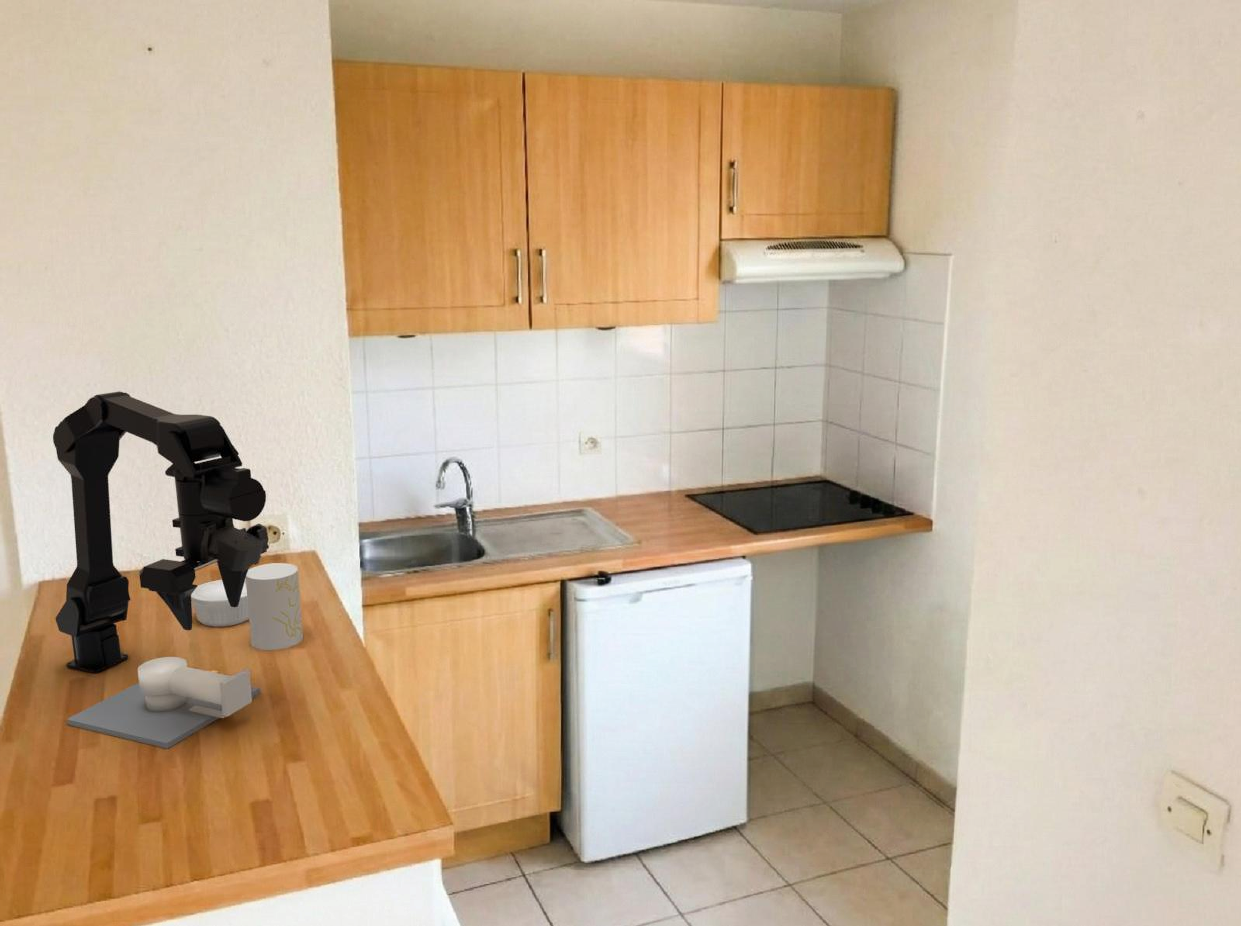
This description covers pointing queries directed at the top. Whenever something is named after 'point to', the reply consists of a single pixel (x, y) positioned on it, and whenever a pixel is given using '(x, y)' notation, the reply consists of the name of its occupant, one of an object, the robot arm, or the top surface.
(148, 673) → the elbow
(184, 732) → the grey square panel
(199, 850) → the top surface
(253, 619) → the cup
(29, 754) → the top surface
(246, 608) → the ramekin
